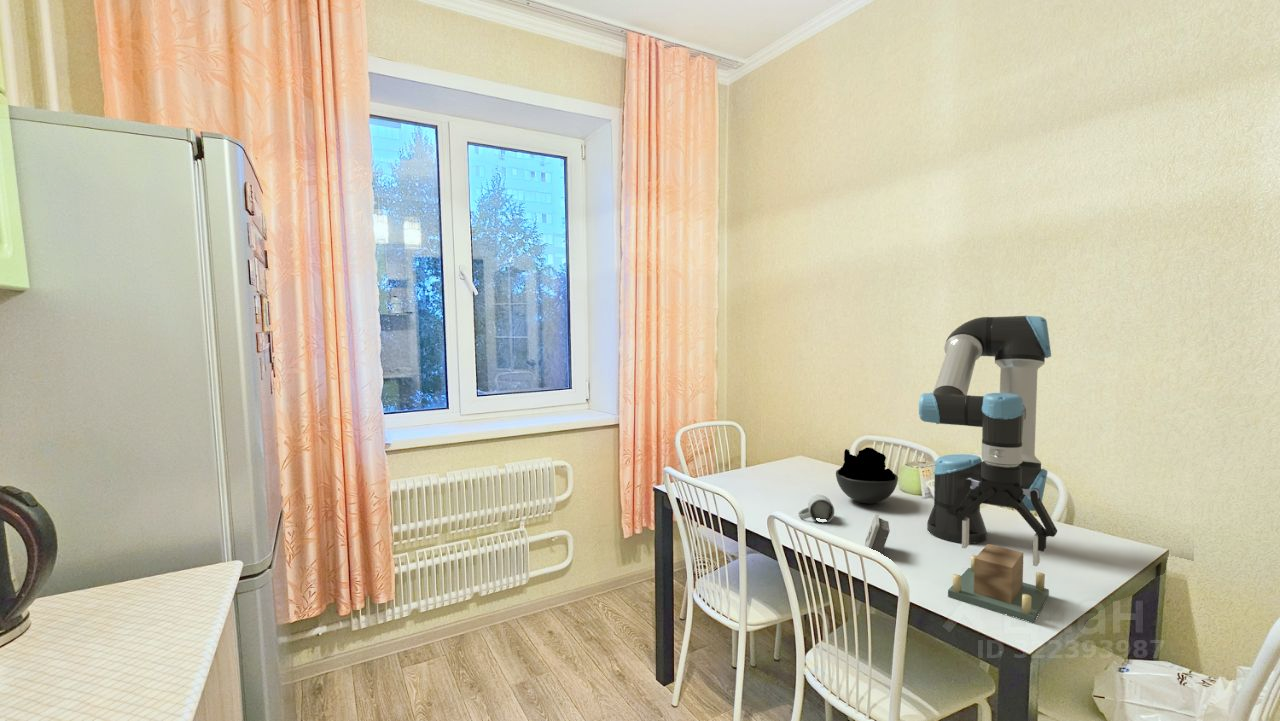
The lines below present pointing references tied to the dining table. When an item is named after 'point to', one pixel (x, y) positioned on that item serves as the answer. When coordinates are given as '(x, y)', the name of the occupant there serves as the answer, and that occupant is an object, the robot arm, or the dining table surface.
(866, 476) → the bowl of black rocks
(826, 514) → the ceramic mug
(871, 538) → the electrical switch
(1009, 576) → the walnut block
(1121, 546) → the dining table surface
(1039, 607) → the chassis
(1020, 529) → the dining table surface
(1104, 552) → the dining table surface
